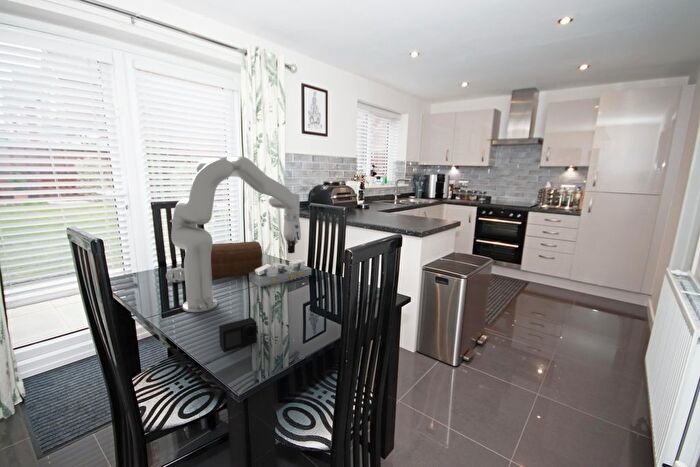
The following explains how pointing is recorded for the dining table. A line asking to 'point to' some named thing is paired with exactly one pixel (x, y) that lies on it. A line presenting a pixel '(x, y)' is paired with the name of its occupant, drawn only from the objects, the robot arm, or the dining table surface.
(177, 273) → the pendant light
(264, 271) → the rocker near
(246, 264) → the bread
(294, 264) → the rocker far
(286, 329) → the dining table surface
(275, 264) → the rocker mid
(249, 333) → the digital camera
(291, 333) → the dining table surface
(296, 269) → the console
